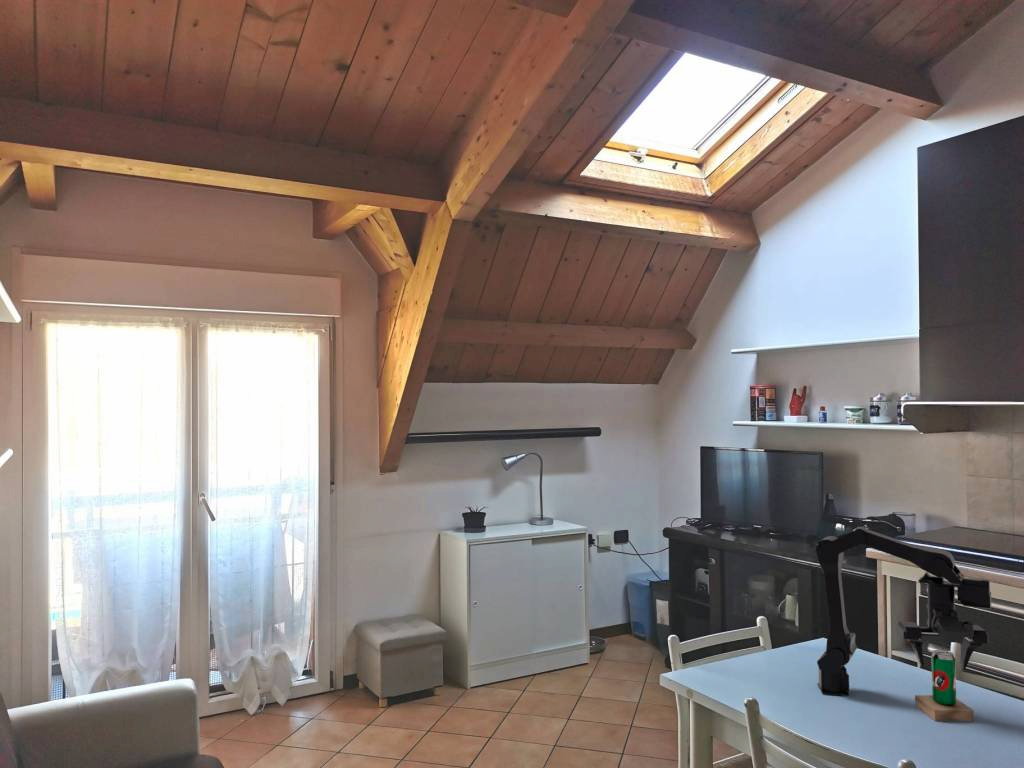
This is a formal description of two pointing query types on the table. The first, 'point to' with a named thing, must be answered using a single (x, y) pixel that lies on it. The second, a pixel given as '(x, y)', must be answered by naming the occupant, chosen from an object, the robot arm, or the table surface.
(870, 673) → the table surface
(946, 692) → the soda can
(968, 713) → the tan block
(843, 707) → the table surface
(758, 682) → the table surface
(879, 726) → the table surface
